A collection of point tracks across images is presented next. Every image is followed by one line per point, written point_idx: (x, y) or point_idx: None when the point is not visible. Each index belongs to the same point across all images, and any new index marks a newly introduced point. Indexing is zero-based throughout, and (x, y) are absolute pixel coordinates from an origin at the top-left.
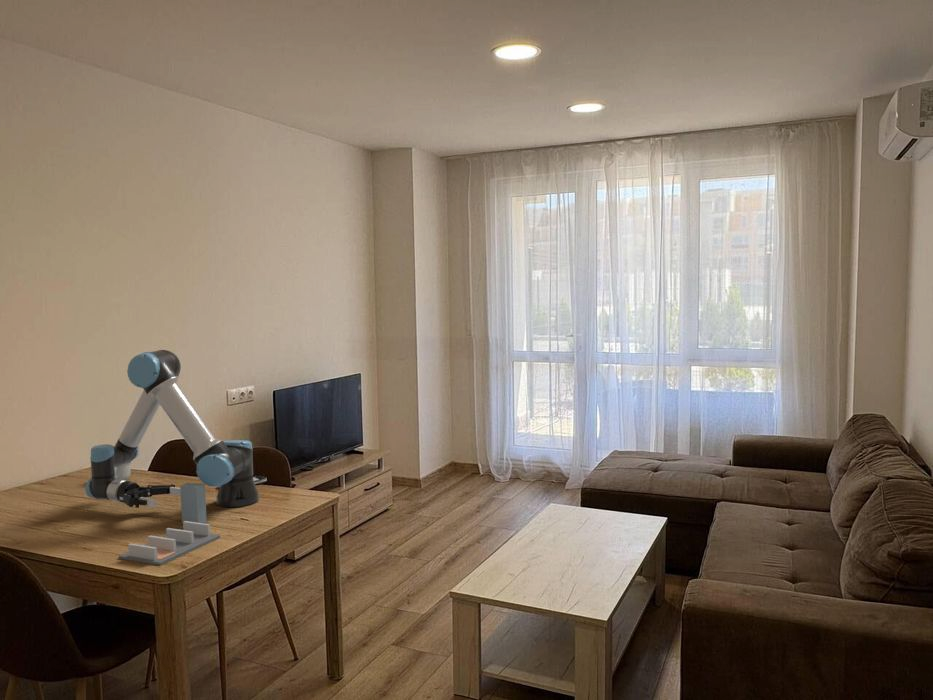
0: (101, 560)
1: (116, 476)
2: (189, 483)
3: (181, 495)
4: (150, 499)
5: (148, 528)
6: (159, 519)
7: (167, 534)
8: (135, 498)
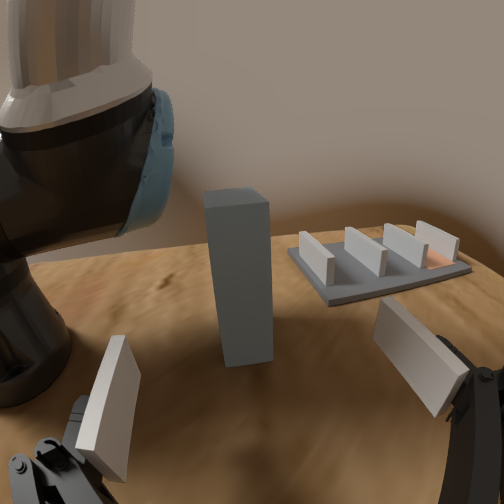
0: (495, 278)
1: None
2: (218, 203)
3: (270, 251)
4: (409, 314)
5: (398, 388)
6: (304, 466)
7: (384, 261)
8: (493, 375)
